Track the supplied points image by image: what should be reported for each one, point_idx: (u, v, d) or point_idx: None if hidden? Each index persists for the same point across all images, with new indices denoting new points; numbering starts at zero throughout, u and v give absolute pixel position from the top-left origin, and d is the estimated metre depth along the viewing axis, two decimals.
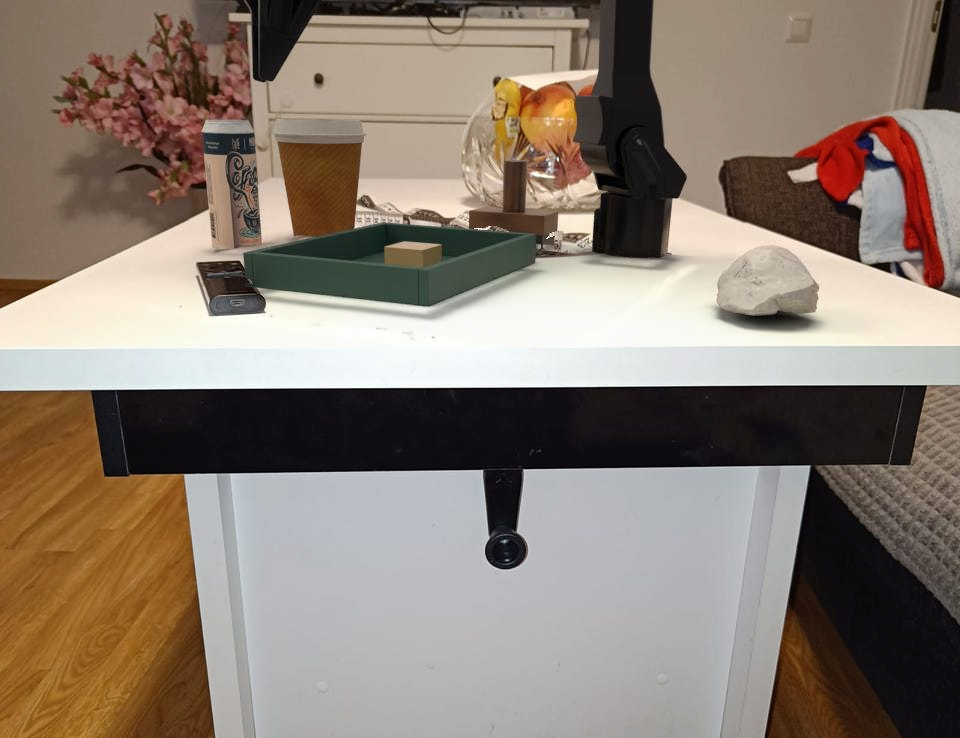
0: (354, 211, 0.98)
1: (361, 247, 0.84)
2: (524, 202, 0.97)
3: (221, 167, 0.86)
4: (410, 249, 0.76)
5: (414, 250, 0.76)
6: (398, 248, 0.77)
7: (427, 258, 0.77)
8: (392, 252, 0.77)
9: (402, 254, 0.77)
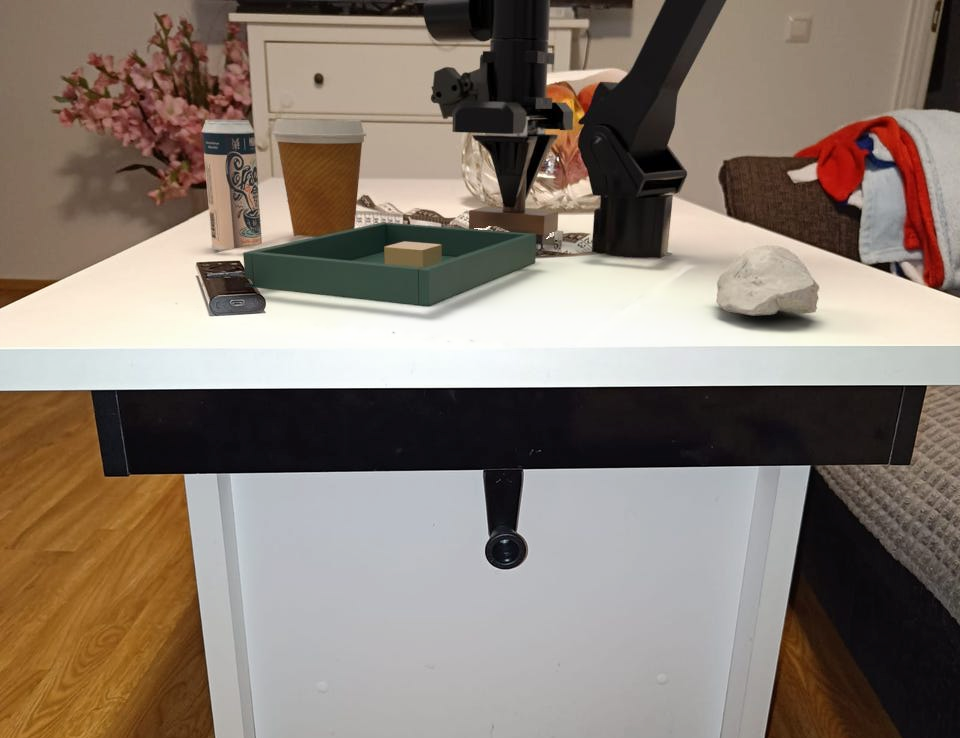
0: (354, 211, 0.98)
1: (361, 247, 0.84)
2: (524, 202, 0.97)
3: (221, 167, 0.86)
4: (410, 249, 0.76)
5: (414, 250, 0.76)
6: (398, 248, 0.77)
7: (427, 258, 0.77)
8: (392, 252, 0.77)
9: (402, 254, 0.77)
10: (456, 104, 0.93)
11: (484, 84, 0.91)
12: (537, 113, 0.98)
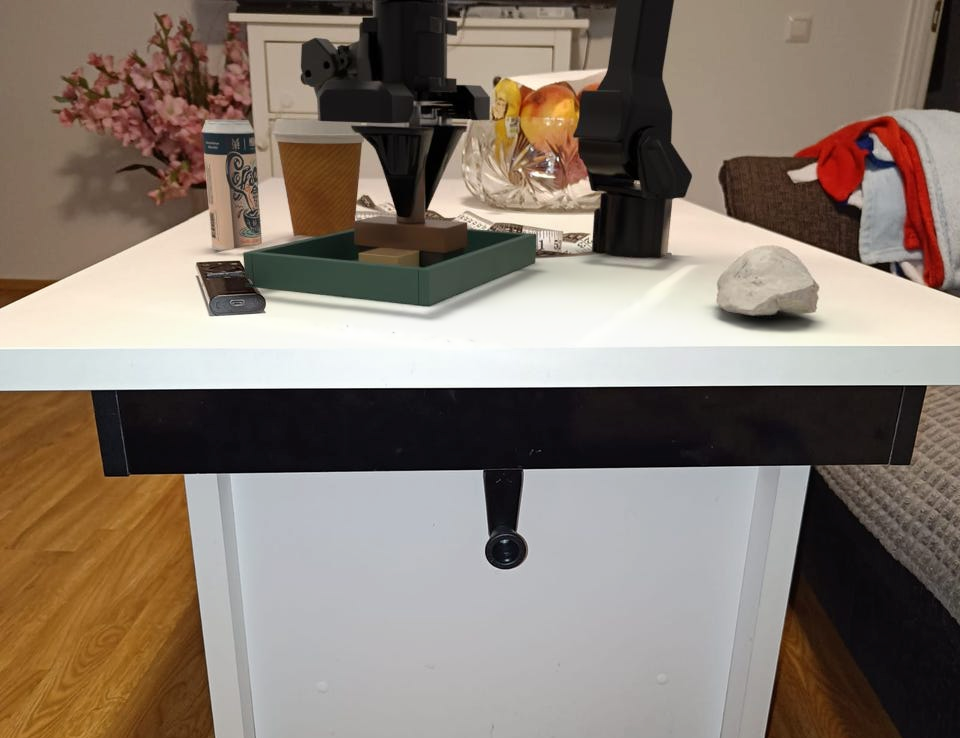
0: (354, 211, 0.98)
1: None
2: (423, 211, 0.76)
3: (221, 167, 0.86)
4: (385, 256, 0.73)
5: (389, 257, 0.73)
6: (373, 255, 0.73)
7: None
8: (367, 259, 0.74)
9: (377, 261, 0.73)
10: None
11: (365, 60, 0.71)
12: (442, 98, 0.77)
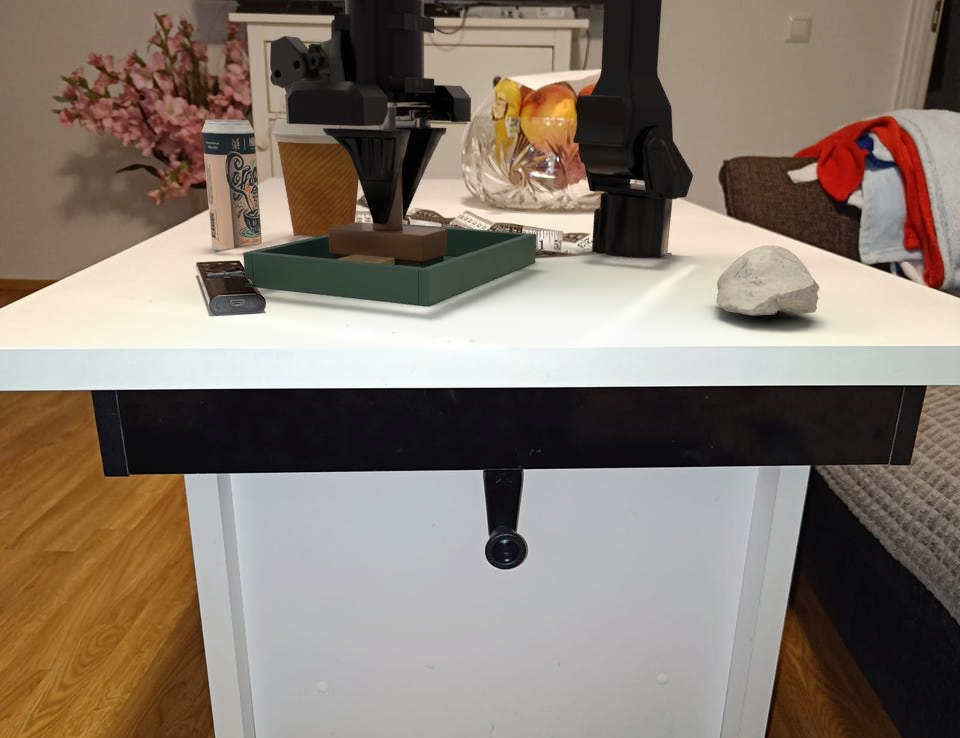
0: (354, 211, 0.98)
1: None
2: (400, 217, 0.73)
3: (221, 167, 0.86)
4: None
5: None
6: None
7: None
8: None
9: None
10: None
11: (337, 59, 0.68)
12: (420, 99, 0.74)
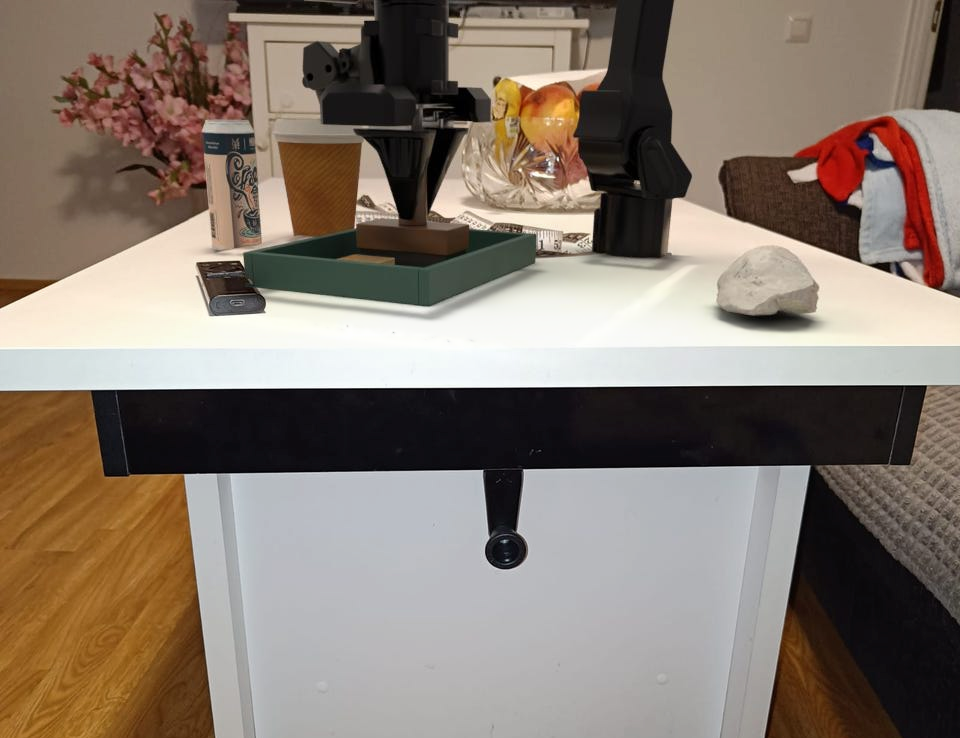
0: (354, 211, 0.98)
1: None
2: (425, 213, 0.77)
3: (221, 167, 0.86)
4: None
5: None
6: None
7: None
8: None
9: None
10: None
11: (367, 63, 0.71)
12: (443, 101, 0.78)
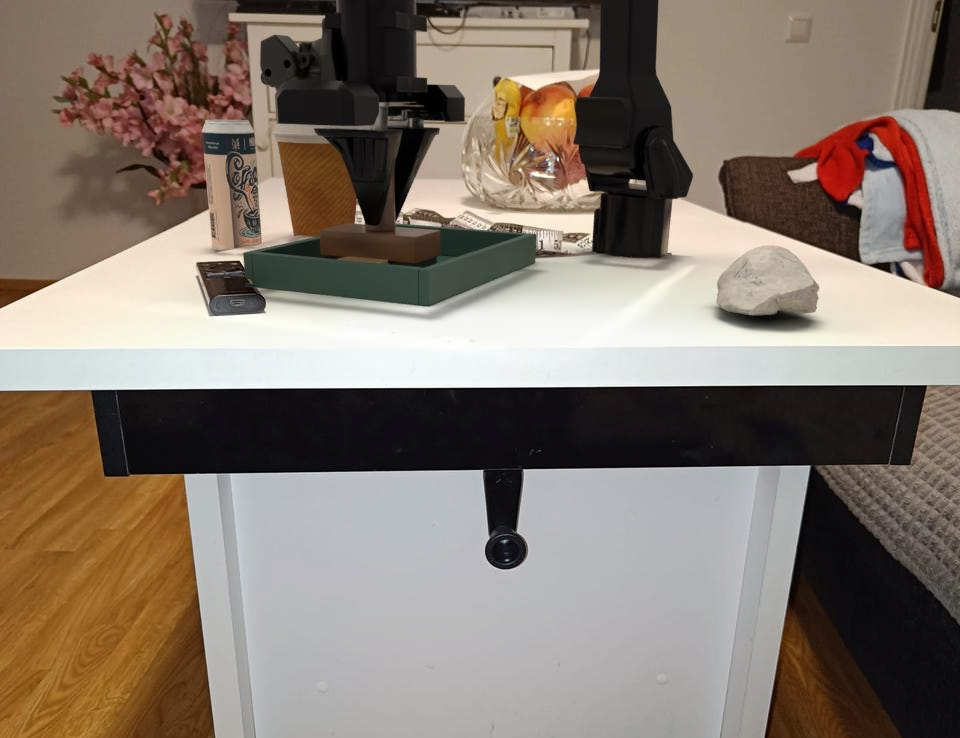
0: (354, 211, 0.98)
1: None
2: (392, 218, 0.72)
3: (221, 167, 0.86)
4: None
5: None
6: None
7: None
8: None
9: None
10: None
11: (328, 58, 0.67)
12: (413, 99, 0.73)
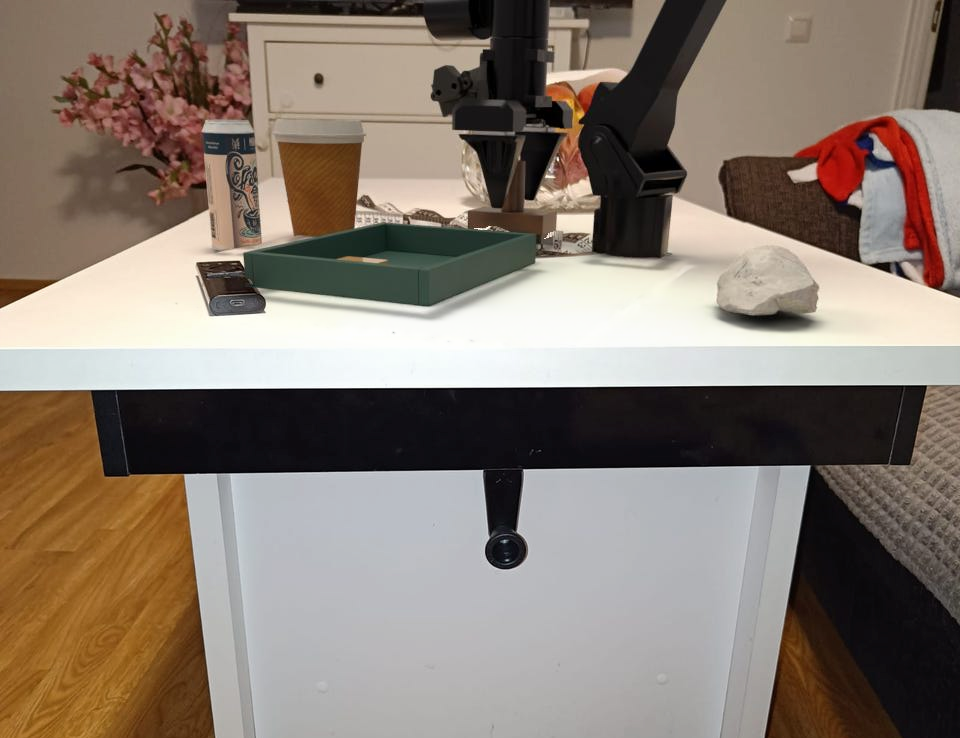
0: (354, 211, 0.98)
1: (361, 247, 0.84)
2: (523, 202, 0.97)
3: (221, 167, 0.86)
4: None
5: None
6: None
7: None
8: None
9: None
10: (456, 102, 0.93)
11: (484, 82, 0.91)
12: (537, 111, 0.97)
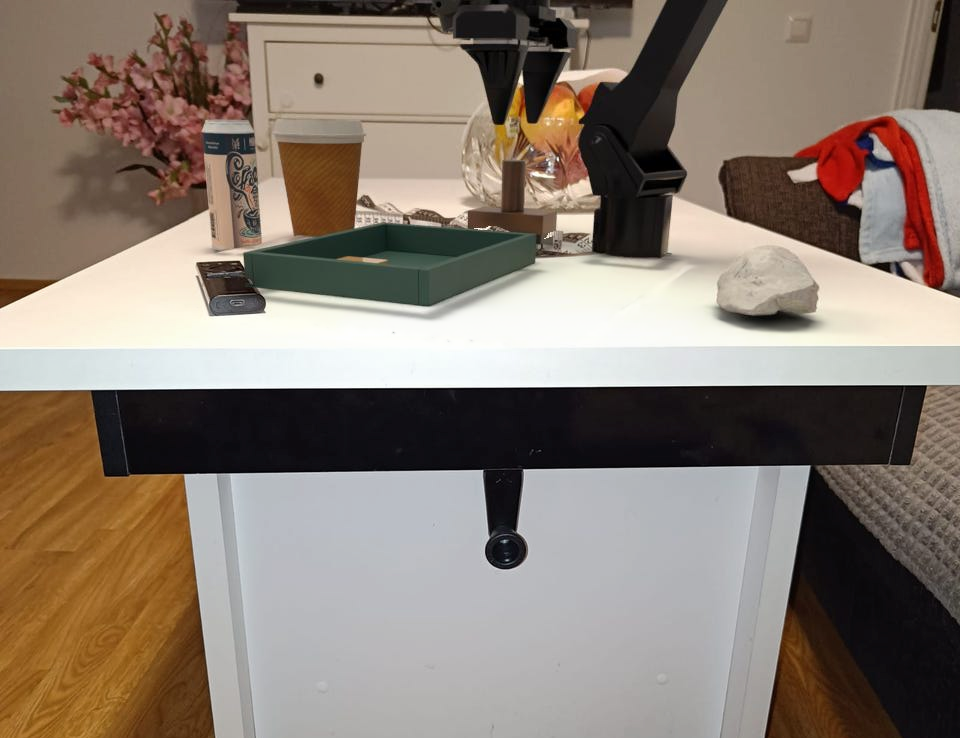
0: (354, 211, 0.98)
1: (361, 247, 0.84)
2: (523, 202, 0.97)
3: (221, 167, 0.86)
4: None
5: None
6: None
7: None
8: None
9: None
10: None
11: None
12: (540, 29, 0.94)
